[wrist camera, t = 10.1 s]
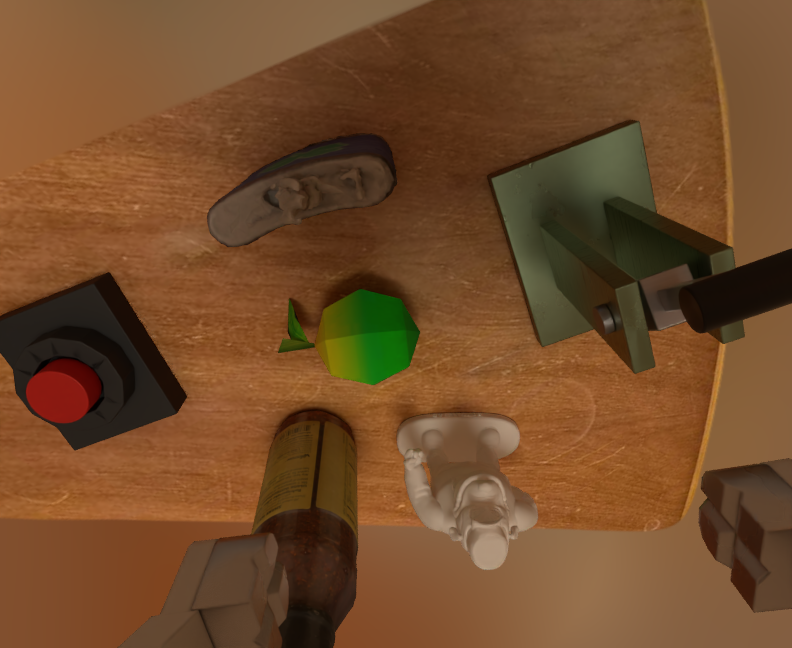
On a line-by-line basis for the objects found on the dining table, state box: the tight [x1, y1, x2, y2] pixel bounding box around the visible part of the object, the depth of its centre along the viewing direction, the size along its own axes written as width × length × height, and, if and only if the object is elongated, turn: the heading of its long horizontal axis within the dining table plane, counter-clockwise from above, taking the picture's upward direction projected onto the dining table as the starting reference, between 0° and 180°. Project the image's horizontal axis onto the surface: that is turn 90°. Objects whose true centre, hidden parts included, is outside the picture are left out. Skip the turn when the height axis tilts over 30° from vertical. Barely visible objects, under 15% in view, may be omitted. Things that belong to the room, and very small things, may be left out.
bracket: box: [487, 120, 745, 374], centre depth 30 cm, size 12×9×13 cm
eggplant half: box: [207, 134, 398, 247], centre depth 28 cm, size 9×3×11 cm, turn 107°
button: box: [26, 358, 102, 423], centre depth 34 cm, size 4×4×2 cm
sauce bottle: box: [251, 411, 358, 648], centre depth 32 cm, size 7×6×20 cm
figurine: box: [397, 412, 538, 570], centre depth 36 cm, size 9×7×12 cm
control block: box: [0, 273, 187, 450], centre depth 36 cm, size 10×8×4 cm
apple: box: [278, 289, 420, 385], centre depth 35 cm, size 7×6×9 cm
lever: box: [636, 249, 792, 333], centre depth 21 cm, size 12×6×2 cm
